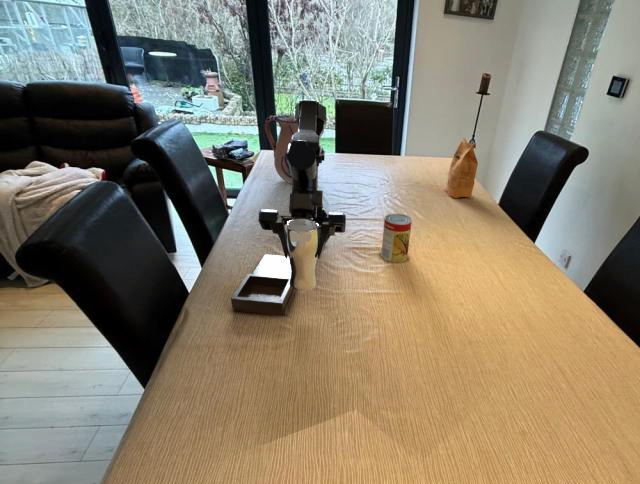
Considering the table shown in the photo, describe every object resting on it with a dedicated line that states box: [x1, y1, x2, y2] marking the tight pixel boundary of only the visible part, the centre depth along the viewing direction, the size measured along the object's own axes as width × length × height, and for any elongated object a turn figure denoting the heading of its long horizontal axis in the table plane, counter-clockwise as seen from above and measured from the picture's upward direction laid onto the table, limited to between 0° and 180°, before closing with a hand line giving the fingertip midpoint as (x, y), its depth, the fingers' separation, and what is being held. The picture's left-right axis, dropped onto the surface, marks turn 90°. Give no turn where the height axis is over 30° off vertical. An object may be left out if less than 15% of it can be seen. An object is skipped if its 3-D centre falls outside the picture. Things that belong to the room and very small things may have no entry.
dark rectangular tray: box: [230, 254, 297, 316], centre depth 104 cm, size 27×12×4 cm, turn 178°
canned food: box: [380, 213, 413, 263], centre depth 121 cm, size 8×8×12 cm
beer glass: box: [286, 218, 319, 292], centre depth 92 cm, size 7×7×15 cm
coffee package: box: [445, 137, 479, 199], centre depth 173 cm, size 10×12×22 cm
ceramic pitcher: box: [264, 114, 299, 184], centre depth 169 cm, size 18×21×25 cm
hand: (302, 258), depth 91 cm, fingers closed on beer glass, 7 cm apart
